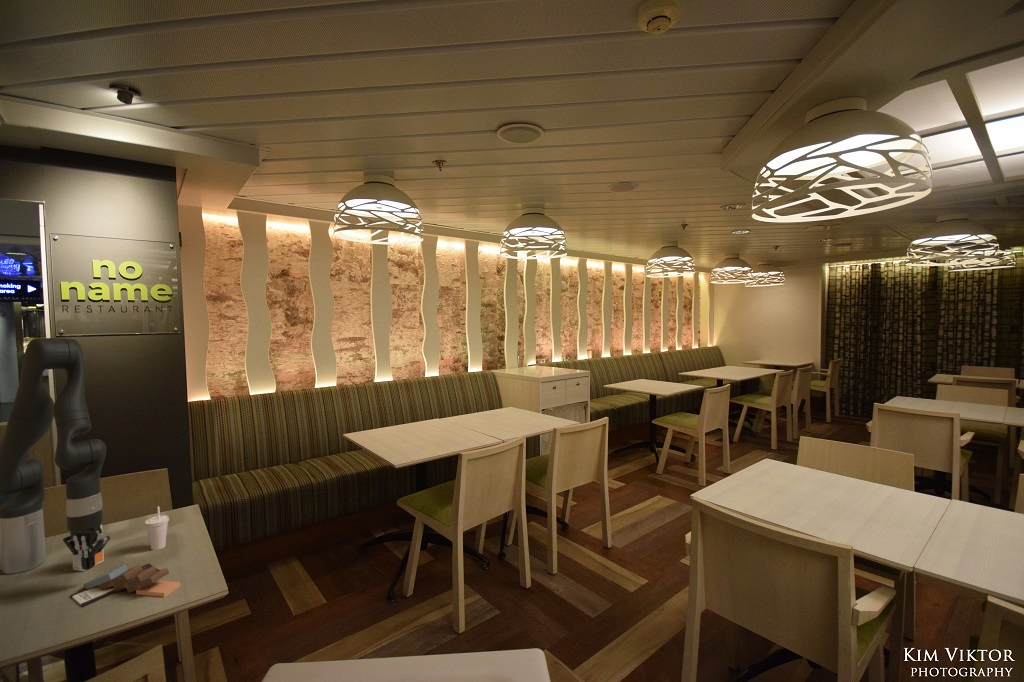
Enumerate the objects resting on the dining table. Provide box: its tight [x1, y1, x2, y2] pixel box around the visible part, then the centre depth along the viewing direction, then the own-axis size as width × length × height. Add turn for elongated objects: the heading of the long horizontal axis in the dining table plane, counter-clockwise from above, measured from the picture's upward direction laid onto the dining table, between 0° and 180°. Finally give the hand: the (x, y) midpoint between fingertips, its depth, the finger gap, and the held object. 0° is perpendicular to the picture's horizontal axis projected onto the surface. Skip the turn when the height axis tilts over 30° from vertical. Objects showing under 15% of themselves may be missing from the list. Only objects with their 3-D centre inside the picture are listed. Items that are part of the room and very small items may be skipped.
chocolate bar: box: [70, 563, 160, 608], centre depth 129 cm, size 9×1×18 cm
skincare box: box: [71, 524, 105, 572], centre depth 139 cm, size 6×4×12 cm
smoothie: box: [144, 505, 170, 551], centre depth 149 cm, size 6×6×14 cm
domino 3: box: [114, 565, 157, 590], centre depth 128 cm, size 2×5×9 cm
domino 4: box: [126, 567, 170, 594], centre depth 127 cm, size 2×5×9 cm
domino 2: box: [99, 564, 143, 589], centre depth 128 cm, size 2×5×9 cm
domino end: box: [135, 579, 181, 598], centre depth 127 cm, size 2×5×9 cm
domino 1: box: [82, 564, 129, 589], centre depth 129 cm, size 2×5×9 cm
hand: (88, 568), depth 129 cm, fingers closed
